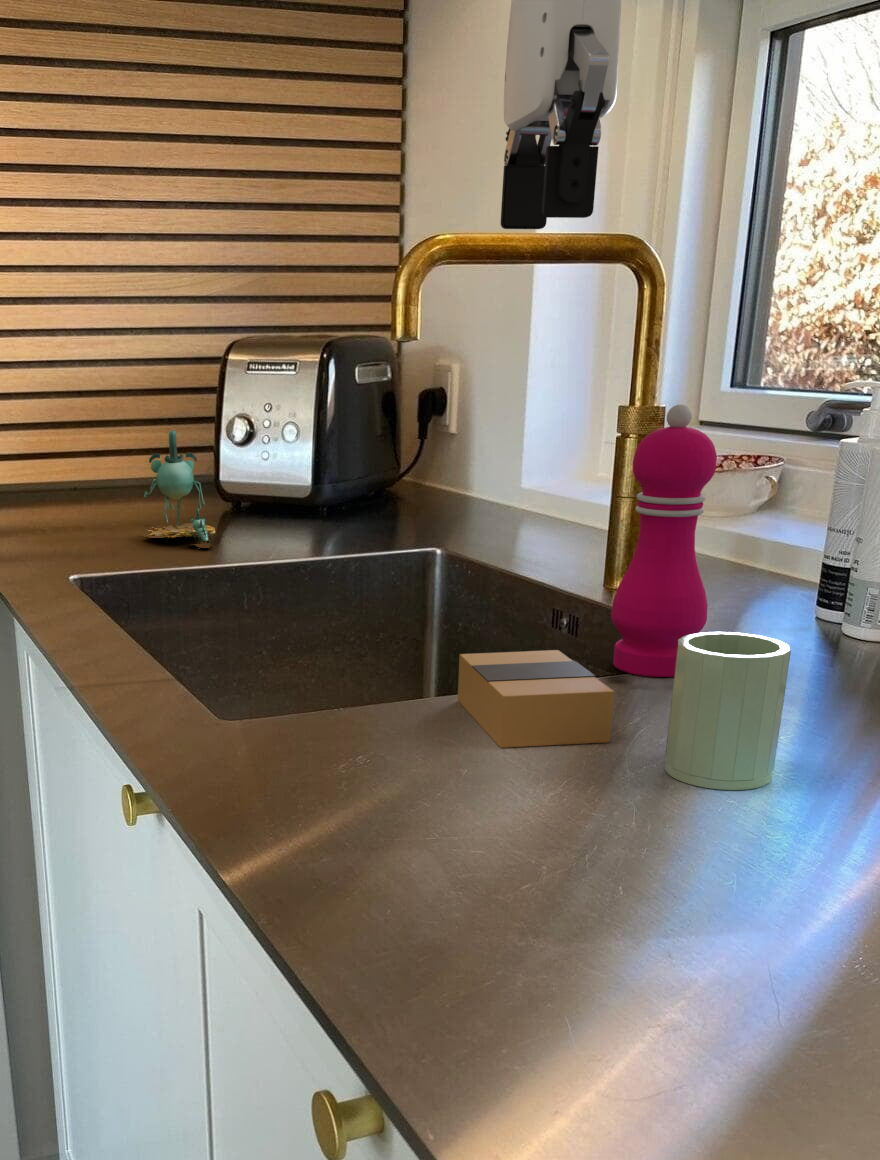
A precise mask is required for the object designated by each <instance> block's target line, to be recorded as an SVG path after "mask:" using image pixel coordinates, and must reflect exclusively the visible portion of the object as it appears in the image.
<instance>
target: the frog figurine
mask: <svg viewBox="0 0 880 1160" xmlns="http://www.w3.org/2000/svg"><path fill="white" fill-rule="evenodd" d="M168 445H169V446H168V448H169V449H168V450H169V455H168V454H166V455H165V457H164V462H162V461H161V460H159V459H160V458H161V454H160V453H159V452H155V453H153V454H152V455H151V456H150V457H149V459H148V463H149V464H150V467H151V468H150V470H151V471H152V472H153V473H155V474H156V476H155V477H156V478H153V479H152V483H151V485H150V487H149V492H148V491H145V492H144V494H143V497H144V498H145V499H147V497H148V495H150V494H152V492H153V491H154V489H155V488H156V487H157V488H158V489H159V491H160V492H161V494H162V495H164V497H165V499H164V507H163V508H164V509H163V515H164V517H165V522H166V523H167V524H169V521H168V515H167V513H166V511H167V512H168V513H169V512H170V510H171V508H172V510H173V511H175V506H174V504H173V503H172V502H170V500H169V499H171V500H174V501H176V500H177V501H176V502H177V503H176V524H175V525H167V527H165V526H160V527H161V528H154V527H153V526H151V527H150V529H151V528H152V529H153V530H155V531H153V530H148V529H147V530H148V531H152V533H151V534H148V535H150V536H167V537H168V538H167V539H177V538H176V537H179V538H182V537H181V536H185V537H184V538H189V537H194V538H195V539H196V536H195V535H196V534H198V535H199V536H197V538H198V539H199V542H203V541H209V542H210V540H209V539H210V538H209V537H210V535H208V534H211V535H214V534H216V529H215V526H211V525H207V524H206V519H207V517H206V516H205V515H203V516H200V510H201V509H202V507H205V506H206V502H205V500H204V497H203V496H204V495H203V490H202V485H201V484H202V483H201V482H199V481H197V480H195V477H194V473H193V470H194V468H195V467H194V465H195V464H194V461H195V462H198V458H197V456H196V455H195V454H194V453H193V452H186V453H185V458H191V459H193V460H194V461H192V460H190V459H188V460H185V461H184V454H183V453H180V454H179V455H178V447H177V432H176V431H175V430H174V429H172V430H170V431H169V432H168ZM197 484H198V485H199V486H198V485H197ZM193 486H195V488H196V489H197V491H198V505H197V506H198V507H197V508H196V517H194V516H190V517H189V520H190V522H189V523H183V524H181V525H179V524H180V521H181V506H182V501H183V497H185V496H187V495H189V494H190V493H191V491H192V489H193ZM201 501H202V502H201ZM156 530H158V531H156ZM192 535H194V536H192ZM170 537H171V538H170ZM194 538H193V539H194ZM198 549H200V548H198ZM200 550H201V549H200Z"/></svg>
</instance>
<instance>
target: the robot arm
mask: <svg viewBox="0 0 880 1160" xmlns="http://www.w3.org/2000/svg"><path fill="white" fill-rule="evenodd" d="M621 16H622V0H511V4H510V13H509V22H508V32H507V45H506V57H505V68H504V87H503V91H504V92H503V122H504V124H505V125H506V126H507V128H508V130H507V131H506V133H505V135H506V137H505V142H506V146H505V150H504V156H503V164H504V166H503V173H502V174H503V175H502V189H501V190H502V191H501V192H502V193H501V206H500V207H501V210H500V226H501V228H502V229H503V230H542V229H544V228H545V227H546V225H547V222H548V221H547V219H548V218H550V219H551V218H556V219H557V218H558V219H559V218H561V219H564V218H566V219H584V218H589V217H591V216H592V214H593V213H594V207H595V193H596V184H597V183H596V181H597V169H598V159H599V146H598V145H599V144H600V142H601V139H602V138H601V137H602V123H601V119H602V118H603V117H605V116H606V115H607V114H608V113H609V112H610V111H611V110H612V109H613V107H614V106H615V103H616V101H617V93H618V79H619V78H618V76H619V60H620V39H621ZM537 136H539V137H538V140H537Z"/></svg>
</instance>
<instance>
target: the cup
mask: <svg viewBox="0 0 880 1160" xmlns="http://www.w3.org/2000/svg"><path fill="white" fill-rule="evenodd" d="M791 653H792V650H791V647H790V645H789V644H788V643H785V642H783V641H782V640H779V639H777V638H772V637H768V636H764V635H760V634H751V633H744V632H731V631H728V632H727V631H708V632H699V633H697V634H691V635H686V636H684V637H682V638H680V639H678V644H677V653H676V662H675V671H674V677H673V680H672V690H671V698H670V709H669V717H668V718H669V719H668V727H667V738H666V745H665V754H664V755H665V756H664V757H665V759H664V760H665V761H664V771H665V772H666V773H667V775H668V776H670V777H671V778H673V779H675V780H677V781H678V782H679V781H680V782H682V783H685V784H688V785H691V786H696V787H700V788H704V789H713V790H720V791H721V790H722V791H743V790H753V789H757V788H761V787H764V786H766V785H767V784H769V783H770V782H771V781H772V779H773V773H774V770H775V764H776V757H777V750H778V743H779V737H780V730H781V723H782V715H783V708H784V702H785V696H786V695H785V694H786V688H787V682H788V673H789V667H790V660H791Z"/></svg>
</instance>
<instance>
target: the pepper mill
mask: <svg viewBox="0 0 880 1160" xmlns="http://www.w3.org/2000/svg"><path fill="white" fill-rule="evenodd" d="M692 417H693V416H692V411H691V409H690V407H688V406H687V405H685V404H675V405H673V406H672V407H671V408H670V409H669V410H668V412H667V414H666V422H667V425H668V426H666V427H661V428H658V429H656V430H654V431H652V432H650V433H648V434H647V435H646V436H644V437H643V439H642V440H641V441H640V442H639V444H638V445H637V448H636V449H635V452H634V456H633V461H632V472H633V477H634V478H635V480H636V481H637V482H638V484H639V485H640V487H641V490H642V491H641V492H639V493H637V494H636V499H637V503H636V504H637V505H636V506H635V512H637V513H638V514H639V515H640V516H639V532H638V533H639V534H638V538H637V543H636V547H635V551H634V553H633V556H632V559H631V561H630V563H629V565H628V568H627V569H626V571H625V573H624V575H623V577H622V579H621V581H620V583H619V585H618V586H617V589H616V592H615V595H614V597H613V600H612V606H611V612H610V619H611V622H612V624H613V625H614V627H615V629H616V630H617V631H618V632H619V634H620V635H621V636H622V638H621V639H619V640H618V641H616V642H615V644H614V649H613V659H612V660H613V661H612V665H613V667H614V668H616V669H618V670H619V671H621V672H624V673H627V674H630V675H635V676H641V677H651V678H674V671H675V662H676V653H677V644H678V639H680V638H682V637H684V636H686V635H691V634H697V633H701V631H702V630H703V628H704V627H705V625H706V624H707V620H708V600H707V599H708V598H707V593H706V589H705V586H704V582H703V579H702V576H701V572H700V570H699V569H700V568H699V567H698V561H697V556H696V555H697V554H696V530H697V525H698V517H699V516H701V515H703V514H704V512H705V508H704V507H703V506H704V502H705V501H706V499H707V498H706V496H705V495H704V494H703V493H702V491H703V490H704V488H705V486H706V485H707V484H708V483H709V482H710V481H711V480H712V478H713V477H714V476H715V473H716V470H717V469H716V468H717V451H716V446H715V444H714V442H713V441H712V439H711V438H710V437H709V436H708V435H707V434H706V433H705V432H703V431H701V430H699V429H696V428H693V427H690V426H688V425H689V424H691V421H692V419H693V418H692Z"/></svg>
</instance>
